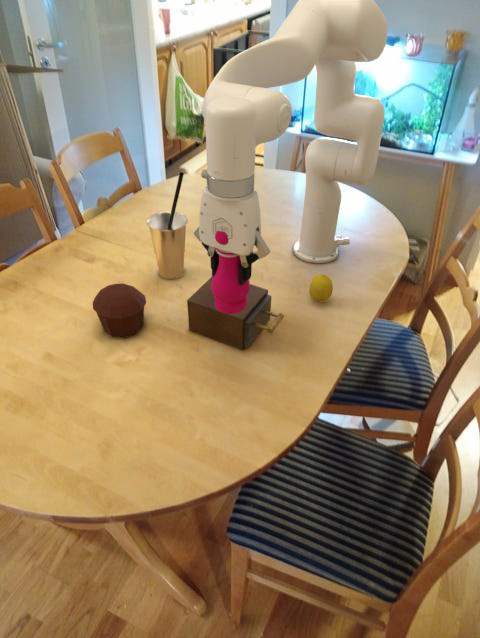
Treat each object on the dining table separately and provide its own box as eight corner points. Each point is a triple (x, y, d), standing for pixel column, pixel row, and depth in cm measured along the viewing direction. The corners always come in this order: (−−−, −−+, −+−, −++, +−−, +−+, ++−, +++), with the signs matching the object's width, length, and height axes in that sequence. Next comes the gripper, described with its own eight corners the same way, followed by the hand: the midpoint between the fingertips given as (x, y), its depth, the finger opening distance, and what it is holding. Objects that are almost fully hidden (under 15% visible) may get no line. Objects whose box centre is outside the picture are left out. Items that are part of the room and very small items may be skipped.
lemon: (332, 297, 117) (336, 270, 112) (327, 310, 113) (332, 283, 108) (310, 293, 119) (314, 266, 114) (305, 305, 115) (309, 278, 110)
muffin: (158, 318, 110) (154, 283, 104) (131, 347, 102) (125, 311, 96) (116, 305, 114) (110, 270, 107) (87, 332, 106) (78, 296, 99)
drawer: (287, 325, 107) (289, 301, 103) (266, 354, 100) (268, 329, 96) (222, 303, 113) (222, 280, 109) (198, 329, 106) (197, 305, 101)
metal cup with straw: (189, 287, 120) (183, 173, 101) (146, 282, 121) (132, 169, 102) (198, 264, 128) (194, 155, 109) (158, 260, 129) (147, 151, 110)
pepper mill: (211, 293, 94) (206, 200, 81) (248, 292, 94) (248, 199, 81) (212, 317, 88) (207, 220, 75) (251, 315, 89) (252, 219, 76)
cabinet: (266, 319, 110) (268, 289, 105) (242, 350, 102) (243, 319, 96) (215, 302, 115) (215, 273, 110) (188, 330, 107) (186, 300, 101)
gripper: (173, 180, 76) (181, 274, 87) (268, 203, 70) (263, 301, 81) (198, 164, 81) (202, 255, 93) (289, 185, 75) (281, 280, 86)
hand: (230, 276), depth 87 cm, fingers closed on pepper mill, 4 cm apart
